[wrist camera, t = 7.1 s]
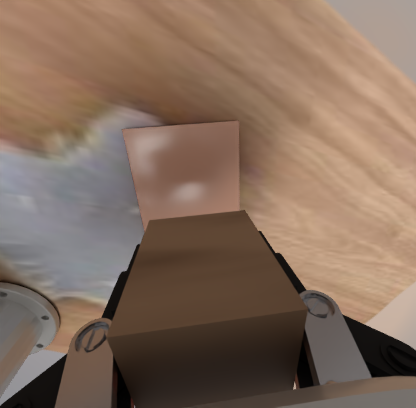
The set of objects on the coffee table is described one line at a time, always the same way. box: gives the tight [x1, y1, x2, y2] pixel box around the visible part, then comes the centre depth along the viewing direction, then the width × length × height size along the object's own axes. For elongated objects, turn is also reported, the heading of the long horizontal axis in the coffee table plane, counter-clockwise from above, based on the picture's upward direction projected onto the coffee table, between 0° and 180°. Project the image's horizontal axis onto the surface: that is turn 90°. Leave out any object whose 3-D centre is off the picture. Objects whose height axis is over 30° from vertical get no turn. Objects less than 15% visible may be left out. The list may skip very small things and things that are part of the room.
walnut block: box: [106, 210, 308, 408], centre depth 9 cm, size 5×5×6 cm
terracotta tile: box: [122, 121, 240, 231], centre depth 22 cm, size 14×11×1 cm
